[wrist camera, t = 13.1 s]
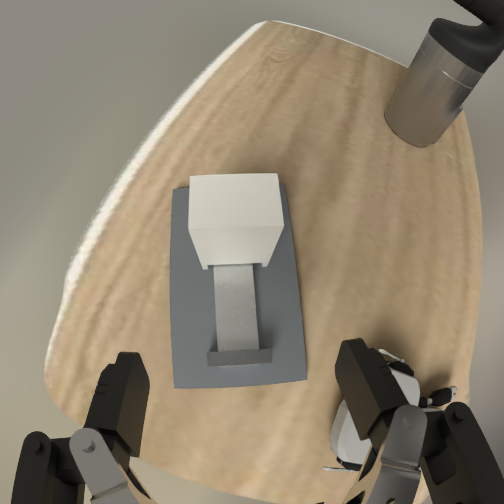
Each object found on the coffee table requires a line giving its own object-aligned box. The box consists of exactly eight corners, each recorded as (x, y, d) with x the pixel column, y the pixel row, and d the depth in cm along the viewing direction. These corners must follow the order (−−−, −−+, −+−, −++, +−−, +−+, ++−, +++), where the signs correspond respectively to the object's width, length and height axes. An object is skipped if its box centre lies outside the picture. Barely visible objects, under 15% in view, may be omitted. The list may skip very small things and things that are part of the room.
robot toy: (444, 382, 25) (355, 345, 25) (469, 384, 21) (380, 345, 21) (404, 471, 21) (303, 453, 21) (426, 482, 17) (319, 472, 17)
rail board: (283, 188, 31) (284, 184, 30) (304, 378, 24) (307, 379, 23) (174, 193, 30) (172, 188, 29) (176, 386, 23) (174, 388, 22)
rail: (254, 200, 29) (256, 188, 26) (268, 362, 24) (272, 364, 21) (204, 203, 28) (202, 191, 26) (210, 366, 23) (207, 368, 21)
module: (263, 225, 28) (277, 170, 19) (266, 266, 26) (284, 225, 18) (202, 228, 27) (190, 173, 18) (203, 269, 26) (188, 229, 17)
